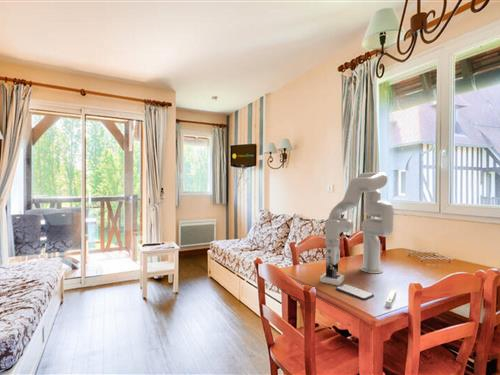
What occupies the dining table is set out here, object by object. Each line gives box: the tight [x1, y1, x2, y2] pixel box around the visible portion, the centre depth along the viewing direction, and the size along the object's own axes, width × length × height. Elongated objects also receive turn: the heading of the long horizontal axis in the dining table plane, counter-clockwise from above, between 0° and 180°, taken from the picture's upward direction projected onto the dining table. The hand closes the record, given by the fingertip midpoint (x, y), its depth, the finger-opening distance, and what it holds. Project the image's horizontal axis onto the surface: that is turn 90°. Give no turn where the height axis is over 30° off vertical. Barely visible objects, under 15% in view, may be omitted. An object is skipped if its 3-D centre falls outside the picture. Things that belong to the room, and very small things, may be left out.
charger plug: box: [327, 267, 338, 279], centre depth 150 cm, size 4×4×7 cm
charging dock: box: [385, 289, 397, 308], centre depth 125 cm, size 16×2×3 cm, turn 145°
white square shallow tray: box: [319, 272, 345, 287], centre depth 149 cm, size 10×10×3 cm
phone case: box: [335, 283, 375, 301], centre depth 134 cm, size 9×2×16 cm
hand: (332, 273), depth 149 cm, fingers open, 9 cm apart
